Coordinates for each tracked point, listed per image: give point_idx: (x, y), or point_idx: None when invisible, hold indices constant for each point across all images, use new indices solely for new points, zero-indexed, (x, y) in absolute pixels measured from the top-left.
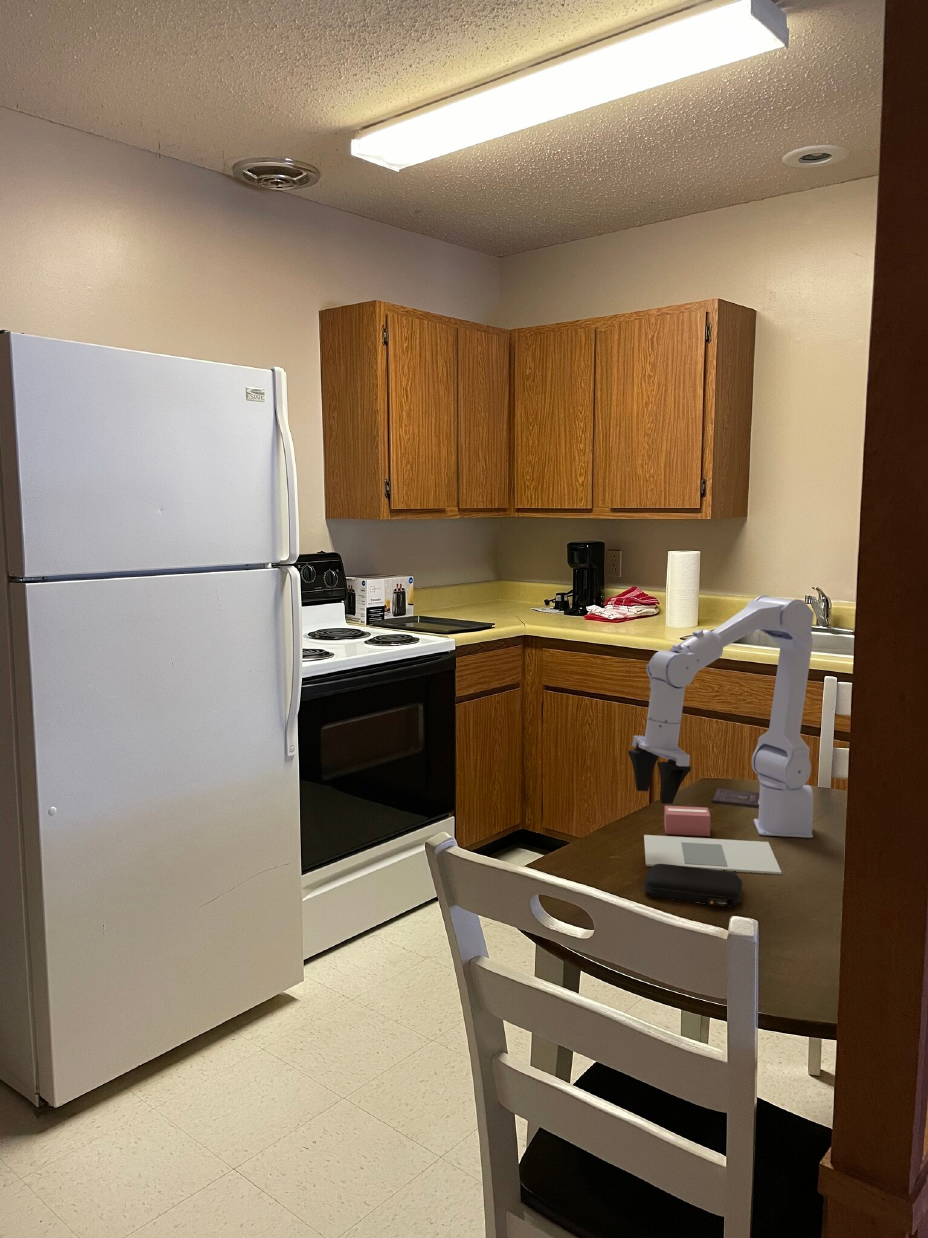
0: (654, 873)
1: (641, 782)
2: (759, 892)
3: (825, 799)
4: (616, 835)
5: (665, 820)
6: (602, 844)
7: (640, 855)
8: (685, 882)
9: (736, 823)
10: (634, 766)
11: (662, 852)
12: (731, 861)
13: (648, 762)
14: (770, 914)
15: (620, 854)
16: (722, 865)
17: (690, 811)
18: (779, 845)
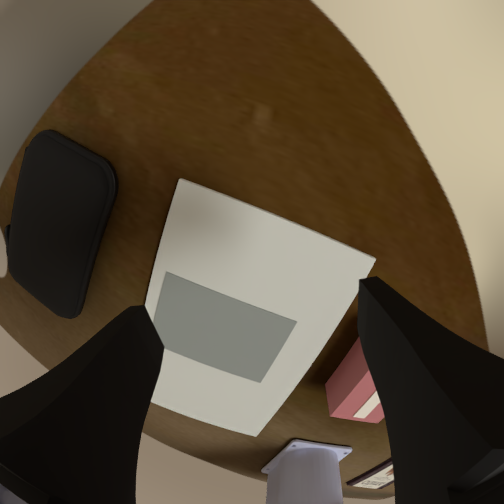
0: (50, 158)
1: (372, 323)
2: (68, 327)
3: (371, 495)
4: (407, 193)
5: None
6: (357, 124)
7: (255, 192)
8: (18, 207)
9: (359, 429)
10: (454, 353)
11: (245, 252)
12: (173, 359)
13: (407, 454)
14: (17, 297)
15: (274, 141)
16: None
17: (373, 394)
18: (248, 440)
